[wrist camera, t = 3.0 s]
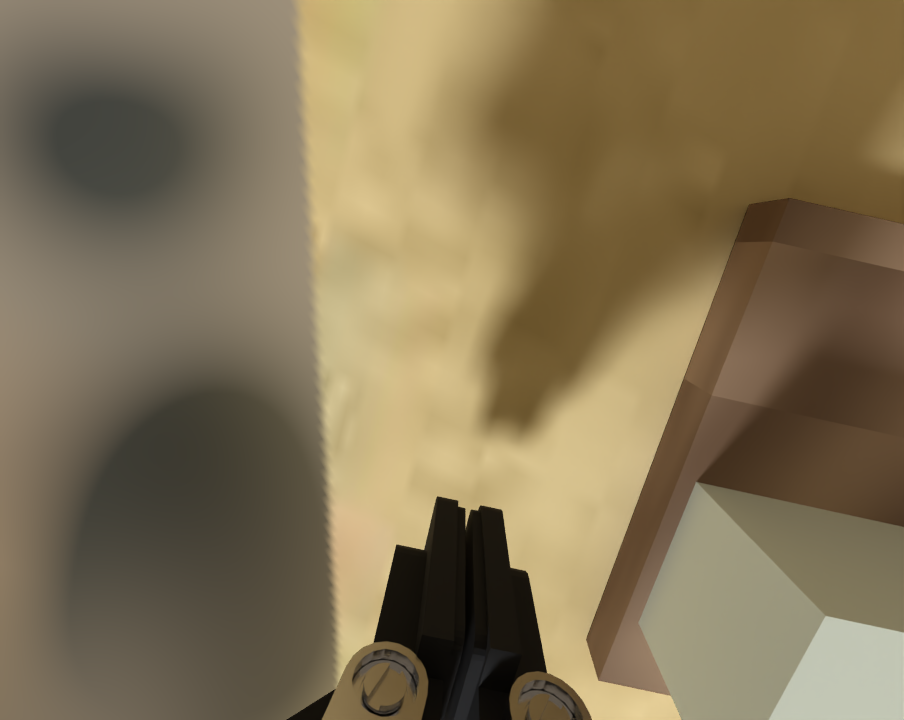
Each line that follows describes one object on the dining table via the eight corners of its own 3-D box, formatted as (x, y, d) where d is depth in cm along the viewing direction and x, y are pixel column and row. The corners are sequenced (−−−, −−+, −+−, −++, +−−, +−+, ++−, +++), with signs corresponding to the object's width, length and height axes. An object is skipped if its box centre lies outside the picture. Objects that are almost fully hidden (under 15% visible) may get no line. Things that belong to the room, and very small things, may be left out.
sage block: (903, 526, 12) (1148, 684, 8) (825, 662, 13) (998, 864, 9) (696, 481, 12) (826, 615, 8) (638, 622, 13) (720, 806, 9)
